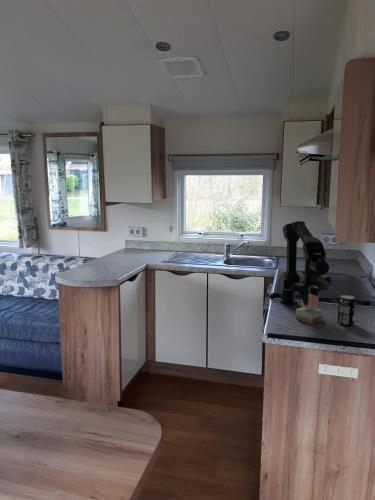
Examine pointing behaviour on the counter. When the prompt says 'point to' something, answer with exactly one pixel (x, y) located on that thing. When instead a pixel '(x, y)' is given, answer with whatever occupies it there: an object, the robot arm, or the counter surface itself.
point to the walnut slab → (309, 319)
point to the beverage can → (346, 310)
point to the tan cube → (311, 302)
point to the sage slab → (309, 312)
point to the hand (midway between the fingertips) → (309, 304)
